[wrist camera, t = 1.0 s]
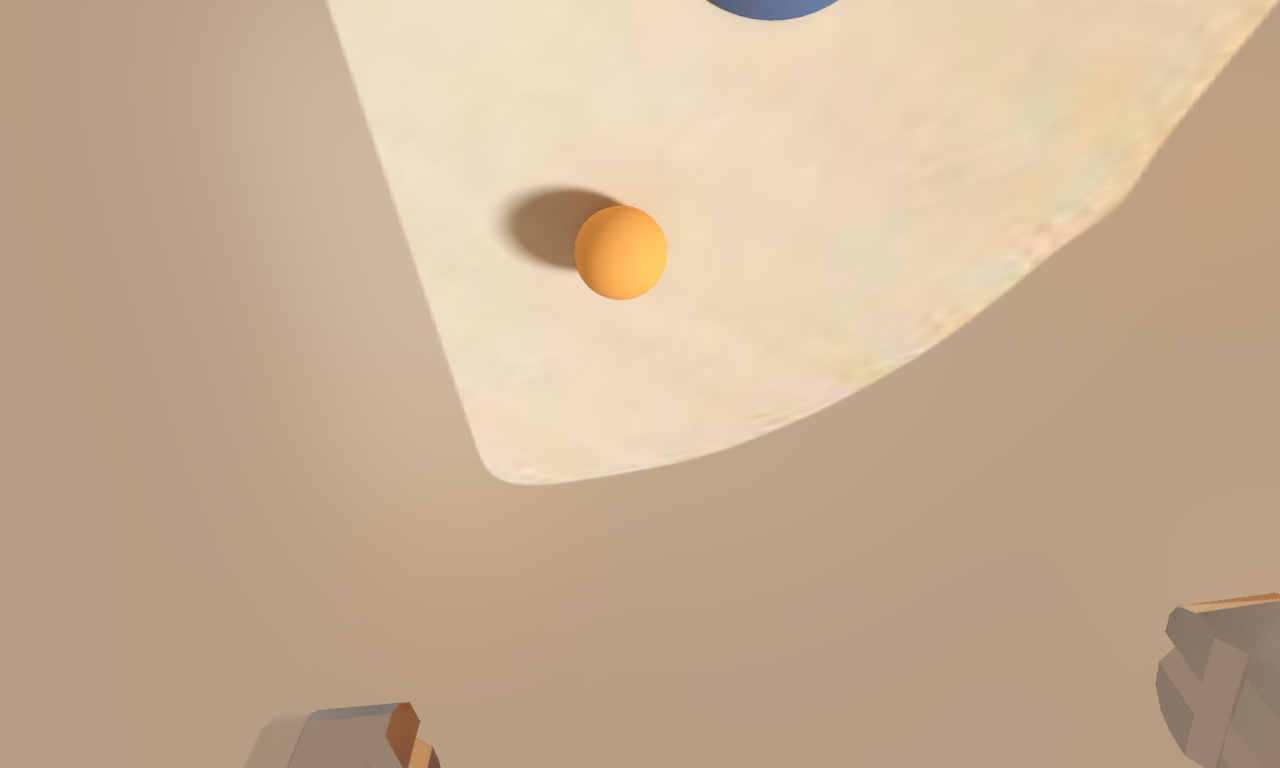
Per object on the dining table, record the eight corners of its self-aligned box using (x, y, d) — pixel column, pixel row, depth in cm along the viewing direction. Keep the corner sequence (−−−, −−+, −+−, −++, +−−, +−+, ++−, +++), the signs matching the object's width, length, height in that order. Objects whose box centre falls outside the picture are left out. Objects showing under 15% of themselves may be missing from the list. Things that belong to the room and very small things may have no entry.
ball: (601, 176, 49) (585, 212, 44) (685, 214, 49) (678, 253, 45) (570, 252, 52) (552, 293, 47) (650, 287, 52) (640, 330, 48)
